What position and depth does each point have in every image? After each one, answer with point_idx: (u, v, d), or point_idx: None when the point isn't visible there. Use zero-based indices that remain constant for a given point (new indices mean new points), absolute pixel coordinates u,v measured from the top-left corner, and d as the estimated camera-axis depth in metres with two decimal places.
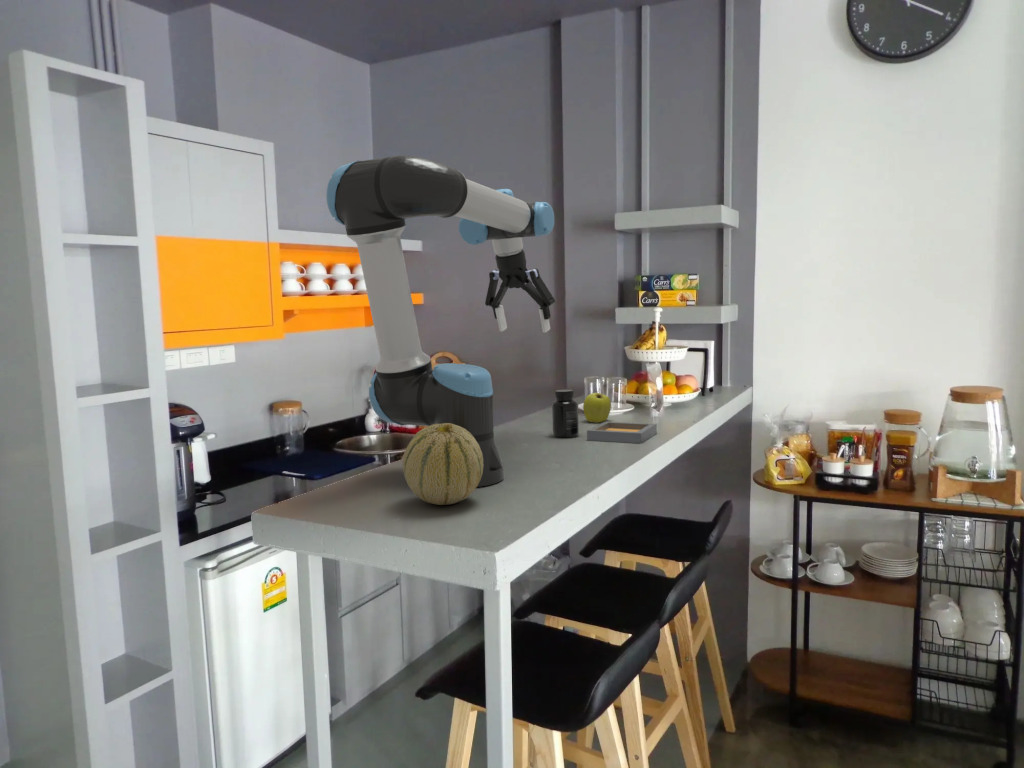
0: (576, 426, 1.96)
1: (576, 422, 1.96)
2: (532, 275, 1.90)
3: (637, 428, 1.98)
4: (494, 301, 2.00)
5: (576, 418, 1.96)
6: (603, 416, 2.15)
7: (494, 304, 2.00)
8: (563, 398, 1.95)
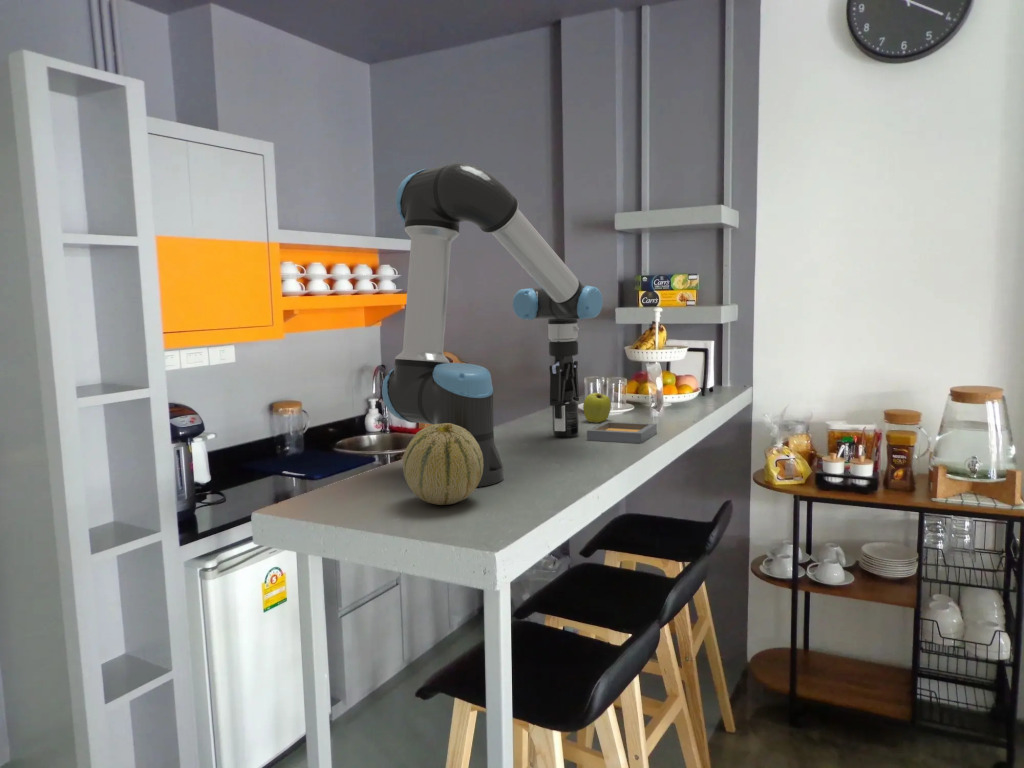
0: (576, 426, 1.96)
1: (576, 422, 1.96)
2: None
3: (637, 428, 1.98)
4: None
5: (576, 418, 1.96)
6: (603, 416, 2.15)
7: None
8: None
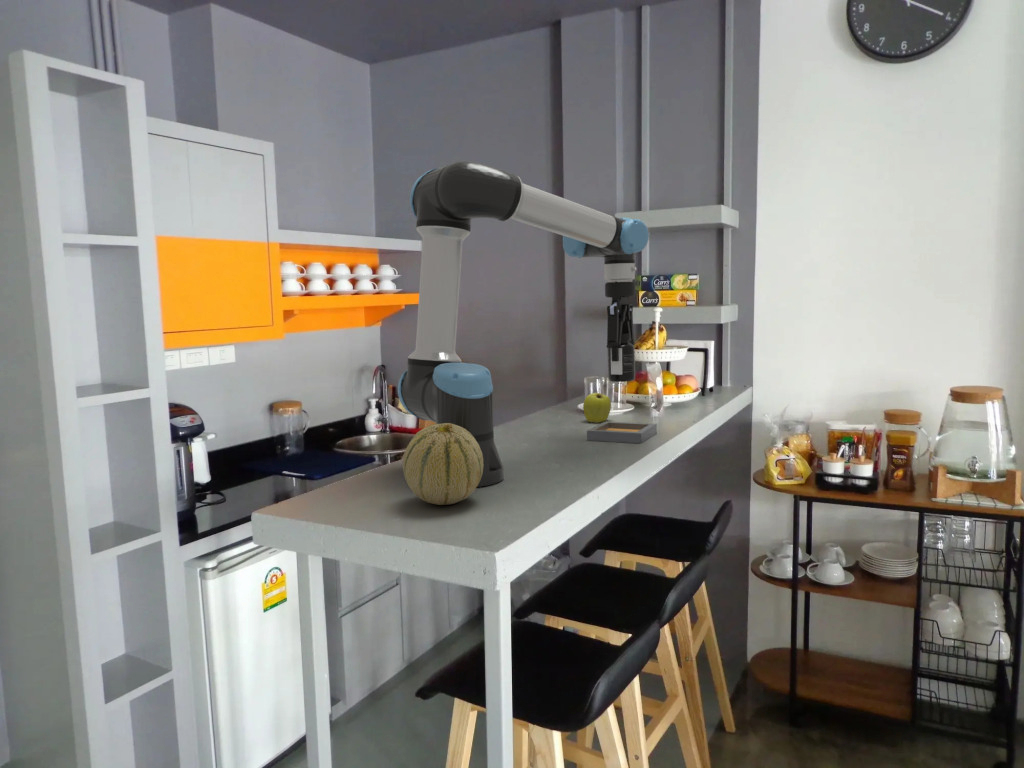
0: (633, 370, 1.90)
1: (633, 365, 1.90)
2: None
3: (637, 428, 1.98)
4: None
5: (633, 361, 1.90)
6: (603, 416, 2.15)
7: None
8: None
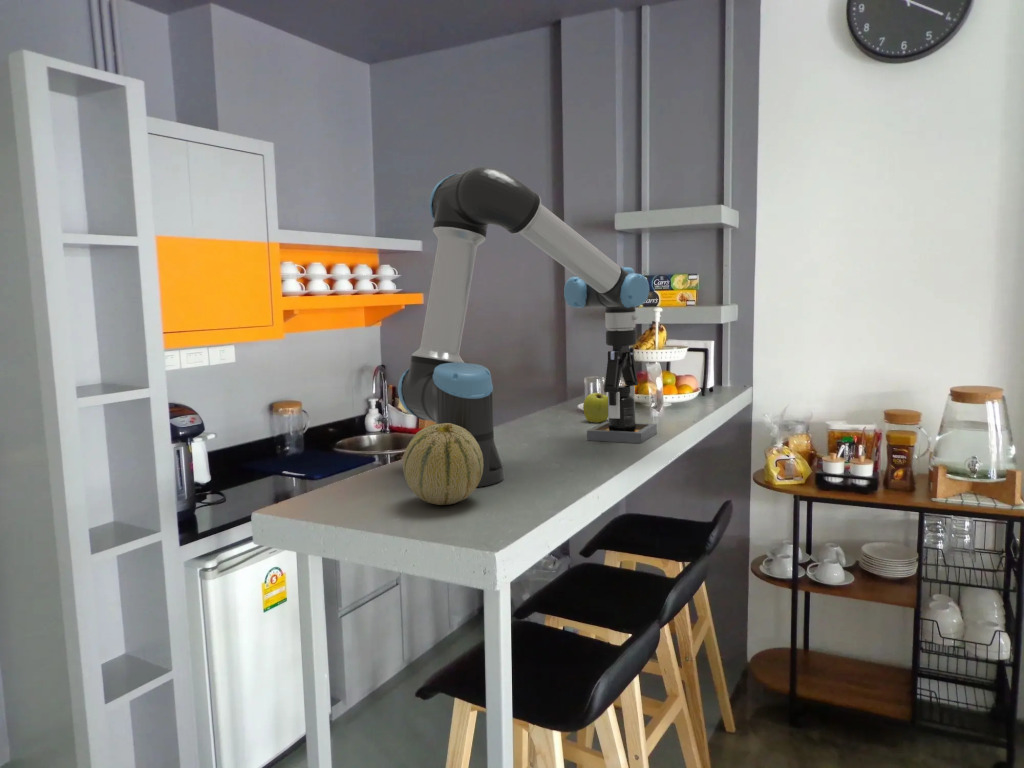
0: (633, 422, 1.92)
1: (633, 418, 1.92)
2: None
3: (637, 428, 1.98)
4: None
5: (633, 414, 1.92)
6: (603, 416, 2.15)
7: None
8: (620, 394, 1.91)
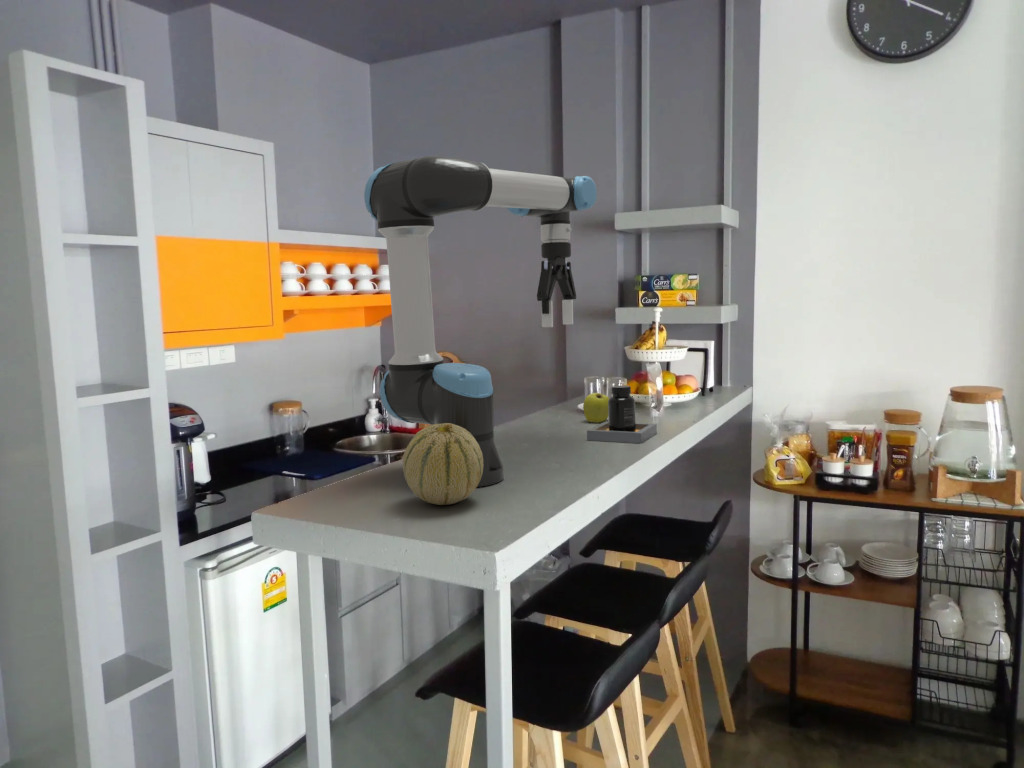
0: (633, 423, 1.92)
1: (633, 419, 1.92)
2: None
3: (637, 428, 1.98)
4: None
5: (633, 415, 1.92)
6: (603, 416, 2.15)
7: None
8: (620, 394, 1.91)
